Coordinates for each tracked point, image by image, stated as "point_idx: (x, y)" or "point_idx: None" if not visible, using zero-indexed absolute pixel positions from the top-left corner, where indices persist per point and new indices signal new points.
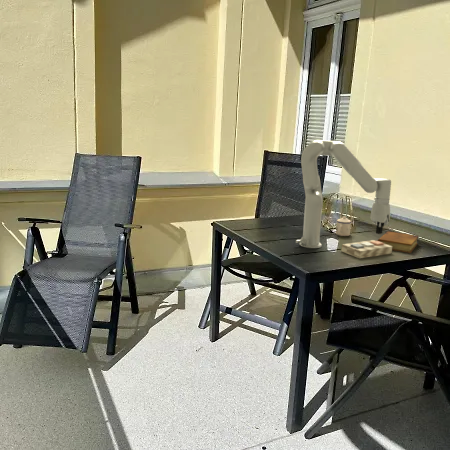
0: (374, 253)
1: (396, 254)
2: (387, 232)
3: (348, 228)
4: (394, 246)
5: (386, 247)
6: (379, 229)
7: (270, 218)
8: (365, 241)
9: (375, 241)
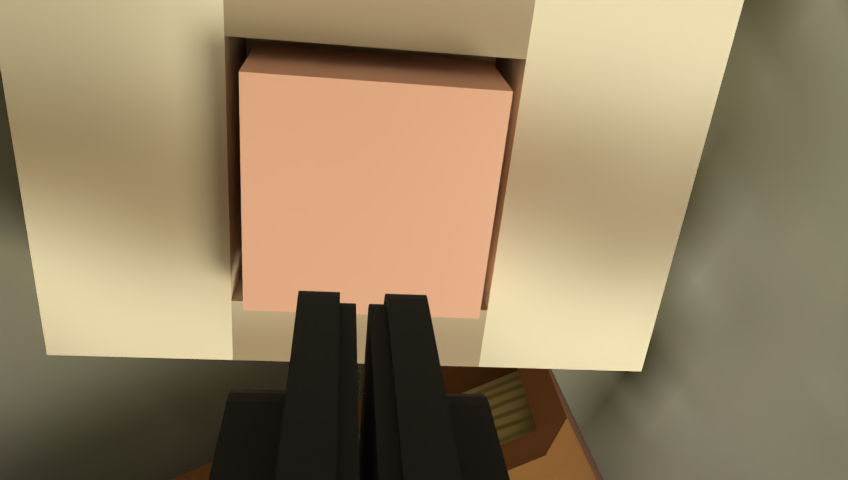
0: None
1: (7, 293)
2: None
3: None
4: None
5: (16, 160)
6: (274, 475)
7: None
8: (690, 101)
9: (450, 230)
